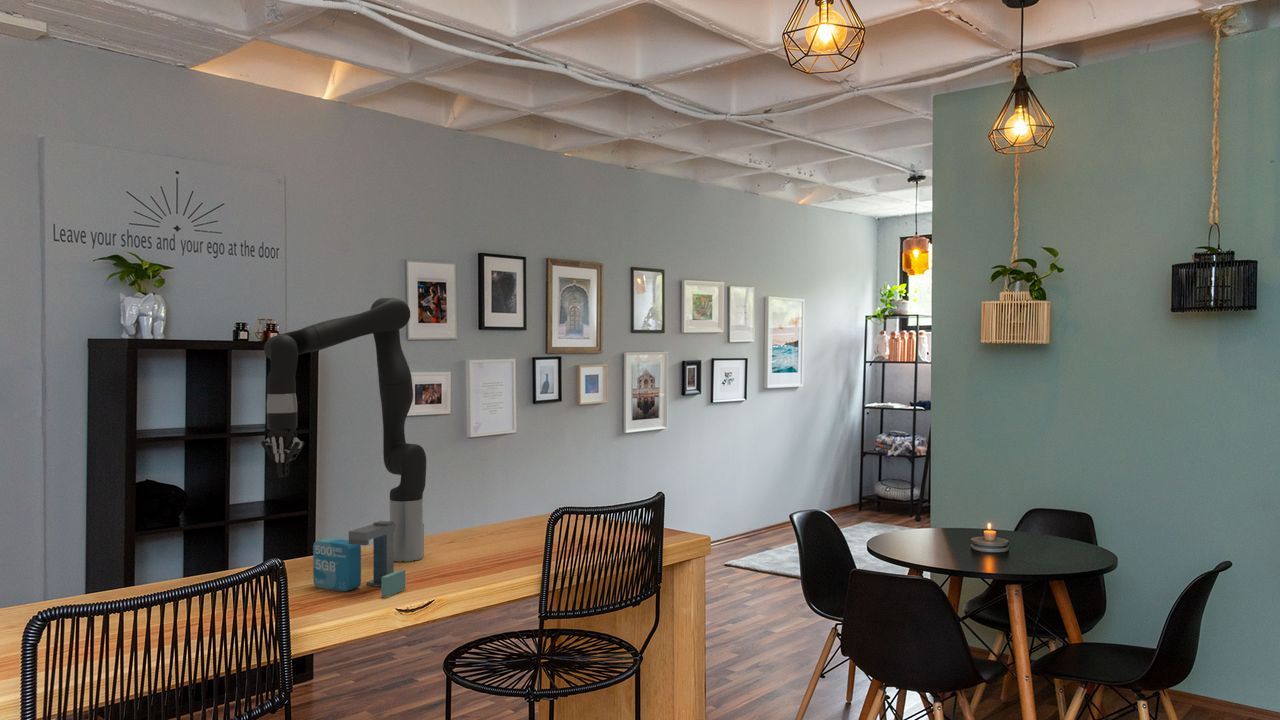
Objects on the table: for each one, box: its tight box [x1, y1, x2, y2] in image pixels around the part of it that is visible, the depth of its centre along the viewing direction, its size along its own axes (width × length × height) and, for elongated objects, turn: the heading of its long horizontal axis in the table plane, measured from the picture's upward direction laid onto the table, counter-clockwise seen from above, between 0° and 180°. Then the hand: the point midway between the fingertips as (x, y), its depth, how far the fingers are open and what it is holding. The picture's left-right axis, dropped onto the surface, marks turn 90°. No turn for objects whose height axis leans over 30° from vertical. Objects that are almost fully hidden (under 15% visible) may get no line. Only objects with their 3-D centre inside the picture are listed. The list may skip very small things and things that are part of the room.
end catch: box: [380, 569, 406, 598], centre depth 232 cm, size 8×2×5 cm, turn 161°
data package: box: [312, 537, 362, 592], centre depth 237 cm, size 12×4×12 cm, turn 64°
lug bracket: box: [348, 520, 395, 587], centre depth 237 cm, size 14×7×16 cm, turn 161°
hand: (283, 476), depth 247 cm, fingers closed
